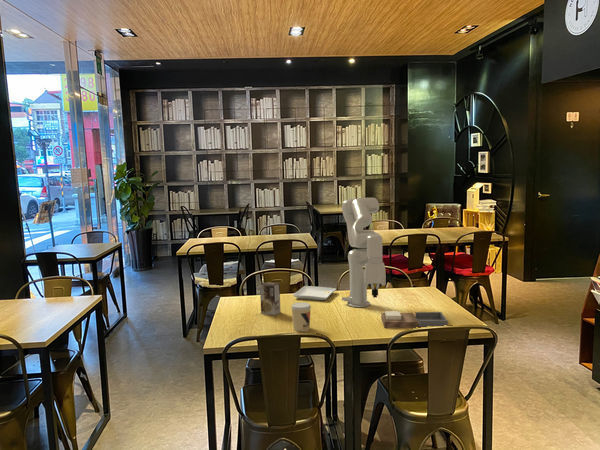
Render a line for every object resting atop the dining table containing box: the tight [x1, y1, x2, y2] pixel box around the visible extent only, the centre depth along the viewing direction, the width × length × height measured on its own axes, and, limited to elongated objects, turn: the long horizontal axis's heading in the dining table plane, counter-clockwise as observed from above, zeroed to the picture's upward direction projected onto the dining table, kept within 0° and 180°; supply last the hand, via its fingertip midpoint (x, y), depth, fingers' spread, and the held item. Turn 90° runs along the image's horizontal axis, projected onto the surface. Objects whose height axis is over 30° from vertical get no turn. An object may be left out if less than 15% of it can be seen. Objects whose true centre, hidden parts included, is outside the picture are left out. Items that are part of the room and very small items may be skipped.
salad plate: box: [292, 285, 337, 301], centre depth 288 cm, size 21×21×3 cm
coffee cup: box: [291, 301, 312, 332], centre depth 231 cm, size 9×9×12 cm
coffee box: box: [259, 281, 281, 316], centre depth 256 cm, size 9×6×16 cm
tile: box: [384, 310, 401, 320], centre depth 236 cm, size 7×7×2 cm
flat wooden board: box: [380, 312, 419, 329], centre depth 236 cm, size 16×14×3 cm
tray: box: [414, 311, 449, 328], centre depth 235 cm, size 14×14×4 cm
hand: (374, 296), depth 235 cm, fingers closed
